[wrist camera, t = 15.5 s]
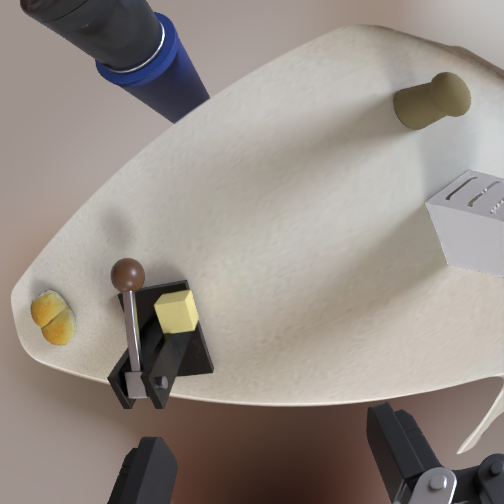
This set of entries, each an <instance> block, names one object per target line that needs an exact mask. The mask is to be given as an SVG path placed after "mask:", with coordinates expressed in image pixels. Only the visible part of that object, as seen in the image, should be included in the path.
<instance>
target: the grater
mask: <svg viewBox="0 0 504 504" xmlns="http://www.w3.org/2000/svg"><path fill="white" fill-rule="evenodd" d="M470 178H472V179H473V180H471V181H470V182H469V183H467V184H466V185H465V186H463V187H462V188H461V189H460V190H458V191H457V192H456V193H455V194H453V195H452V196H451V197H450V200H446V197H447V196H448V195H449V194H450V193H452V192H453V191H454V190H455V189H457V188H458V187H459V186H461V185H462V184H463V183H465V182H466V181H467V180H468V179H470ZM485 188H487V191H485V190H484V189H485ZM482 191H483V192H484V193H483V194H482V193H481V192H482ZM477 195H478V196H479V198H478V199H477V200H476V201H475V202H473V206H472V207H469V206H467V205H468V204H469V202H470V201H471V200H472V199H473V198H475V197H476V196H477ZM501 200H503V201H504V179H502V178H499V177H495V176H492V175H488V174H484V173H480V172H477V171H473V170H468V171H467V172H465V173H464V174H463V175H461V176H460V177H459V178H457V179H456V180H455V181H453V182H452V183H451V184H449V185H448V186H447V187H445V188H444V189H442V190H441V191H440V192H438V193H437V194H436V195H434V196H433V197H431V198H430V199H429V200H427V201H426V202H425V205H426V207H427V210H428V212H429V215H430V217H431V220H432V222H433V225H434V227H435V230H436V233H437V235H438V238H439V241H440V244H441V246H442V249H443V252H444V255H445V258H446V261H447V264H448V265H452V266H456V267H461V268H465V269H469V270H473V271H478V272H482V273H486V274H490V275H494V276H498V277H502V278H504V203H503V204H502V203H501ZM497 203H499V204H500V207H499V208H498V206H497ZM494 206H496V208H497V209H496V210H495V209H494V208H493V207H494ZM492 209H493V211H494V212H493V213H492V212H491V210H492ZM495 211H496V215H495ZM493 214H494V215H493Z"/></svg>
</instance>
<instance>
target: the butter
mask: <svg viewBox="0 0 504 504" xmlns="http://www.w3.org/2000/svg"><path fill="white" fill-rule="evenodd" d="M154 307H155V310H156V313H157V316H158V319H159V322H160V325H161V327H162V330H163V333H169V332H171V334H172V333H179V332H186V331H193V330H195V327H196V324H197V322H198V319H199V316H198V313H197V309H196V306H195V302H194V299H193V295H192V292H191V290H186V291H180V292H174V293H169V294H163V295H161V297H160V298H159V299H158V301H157V302H156V303H155V305H154Z"/></svg>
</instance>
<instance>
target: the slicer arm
mask: <svg viewBox="0 0 504 504" xmlns="http://www.w3.org/2000/svg"><path fill="white" fill-rule="evenodd" d="M144 280H145V272H144V269H143V267H142V266H141V264H140V263H139V262H138V261H136V260H134V259H132V258H123V259H121V260H119V261H117V262H116V263H115V264H114V266H113V267H112V270H111V281H112V284H113V286H114V287H115V288H116V289H117V290H118V291H120V292H122V293H123V301H124V313H125V323H126V332H127V340H128V348H129V355H130V362H131V369H132V372H126V373H125V379H126V384H127V390H128V395H129V398H147V397H150V396H149V394H148V392H147V390H146V388H145V386H144V384H143V382H142V380H141V378H140V376H141V374H142V372H143V370H144V365H143V359H142V352H141V345H140V337H139V329H138V321H137V311H136V301H135V292H136V291H138V290H139V289H140V288H141V287H142V285H143V283H144Z"/></svg>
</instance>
